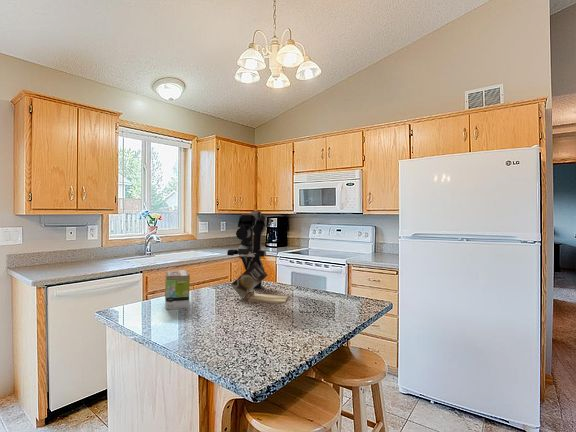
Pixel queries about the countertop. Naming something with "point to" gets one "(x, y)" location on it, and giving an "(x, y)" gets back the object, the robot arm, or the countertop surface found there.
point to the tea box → (177, 289)
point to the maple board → (268, 298)
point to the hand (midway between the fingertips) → (246, 270)
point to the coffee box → (249, 280)
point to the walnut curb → (249, 295)
